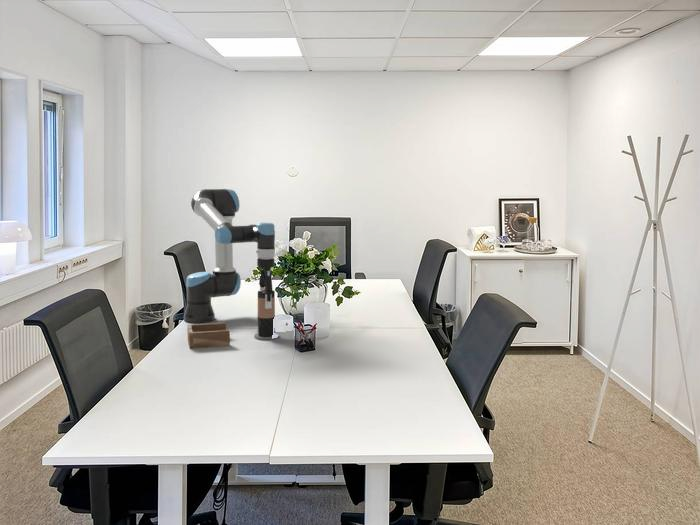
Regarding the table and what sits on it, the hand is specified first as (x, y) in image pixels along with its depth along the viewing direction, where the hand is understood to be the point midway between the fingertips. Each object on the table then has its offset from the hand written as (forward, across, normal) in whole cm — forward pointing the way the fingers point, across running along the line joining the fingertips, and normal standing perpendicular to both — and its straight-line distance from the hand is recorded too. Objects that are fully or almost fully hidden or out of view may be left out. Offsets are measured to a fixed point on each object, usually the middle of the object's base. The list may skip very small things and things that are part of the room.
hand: (265, 304), depth 264 cm
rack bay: (+15, +4, -25) cm, 29 cm away
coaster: (+14, +2, 0) cm, 15 cm away
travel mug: (+14, +2, 0) cm, 14 cm away
